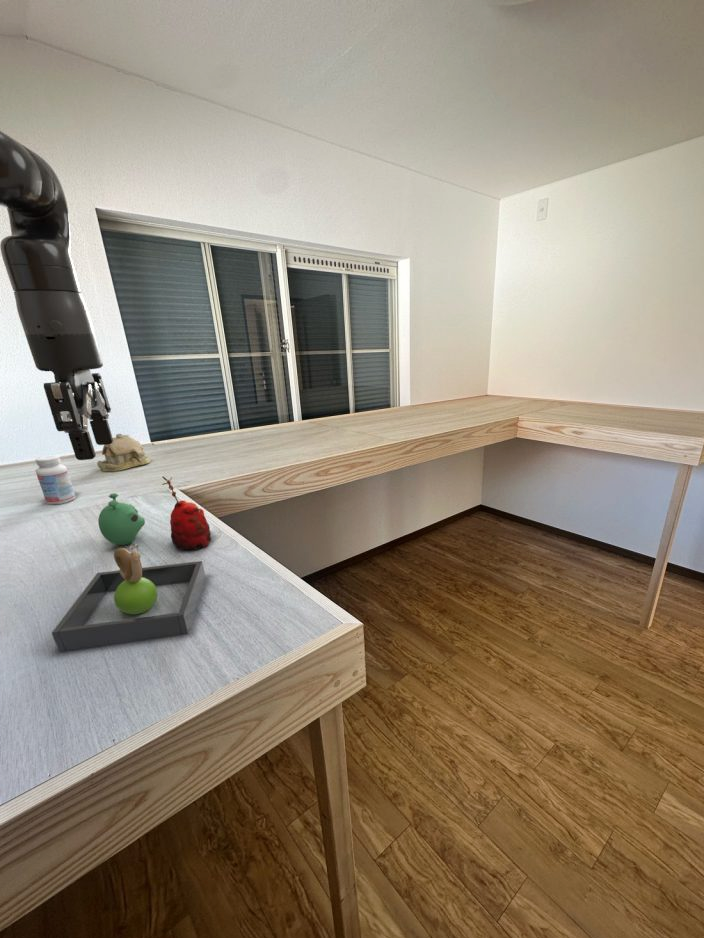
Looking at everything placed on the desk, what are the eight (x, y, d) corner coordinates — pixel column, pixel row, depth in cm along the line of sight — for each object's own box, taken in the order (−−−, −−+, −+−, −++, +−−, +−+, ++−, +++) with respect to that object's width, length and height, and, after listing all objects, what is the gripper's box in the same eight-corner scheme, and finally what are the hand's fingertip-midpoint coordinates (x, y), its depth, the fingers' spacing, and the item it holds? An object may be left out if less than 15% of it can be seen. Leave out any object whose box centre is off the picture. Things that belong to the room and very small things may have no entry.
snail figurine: (136, 629, 58) (113, 554, 53) (112, 614, 61) (88, 542, 56) (172, 608, 62) (153, 537, 58) (147, 596, 65) (128, 527, 61)
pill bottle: (40, 503, 103) (24, 460, 98) (65, 495, 108) (50, 453, 103) (58, 506, 101) (42, 462, 96) (82, 497, 106) (68, 455, 102)
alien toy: (150, 545, 82) (137, 498, 78) (104, 554, 79) (89, 506, 75) (148, 531, 88) (137, 487, 84) (106, 540, 84) (91, 494, 80)
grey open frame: (61, 657, 54) (51, 632, 52) (104, 593, 67) (97, 572, 65) (189, 638, 57) (183, 614, 55) (206, 581, 70) (202, 560, 68)
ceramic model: (132, 458, 139) (124, 428, 135) (158, 460, 136) (150, 430, 132) (93, 470, 127) (83, 438, 123) (120, 473, 124) (111, 440, 120)
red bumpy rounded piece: (218, 544, 82) (204, 472, 76) (182, 557, 78) (164, 481, 71) (202, 532, 87) (188, 464, 81) (167, 544, 83) (150, 472, 76)
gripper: (50, 331, 60) (84, 442, 66) (-3, 331, 47) (46, 467, 54) (108, 331, 62) (136, 438, 68) (73, 330, 49) (111, 462, 56)
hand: (96, 451), depth 61 cm, fingers open, 8 cm apart
